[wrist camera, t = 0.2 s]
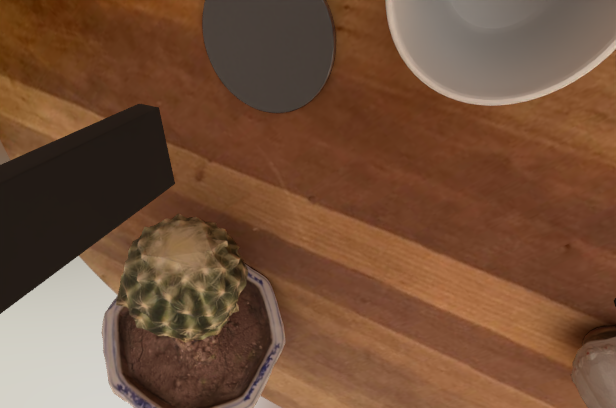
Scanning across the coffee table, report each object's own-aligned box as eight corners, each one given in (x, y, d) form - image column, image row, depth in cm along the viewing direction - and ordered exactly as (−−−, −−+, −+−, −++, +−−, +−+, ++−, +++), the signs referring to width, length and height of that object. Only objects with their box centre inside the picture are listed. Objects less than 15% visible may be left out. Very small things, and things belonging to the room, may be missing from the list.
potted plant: (219, 470, 42) (213, 467, 18) (96, 381, 45) (-48, 278, 21) (295, 336, 53) (356, 221, 29) (192, 271, 55) (168, 116, 31)
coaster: (197, -50, 27) (192, -50, 27) (342, -42, 24) (339, -42, 23) (214, 99, 33) (210, 101, 33) (331, 121, 30) (328, 124, 30)
